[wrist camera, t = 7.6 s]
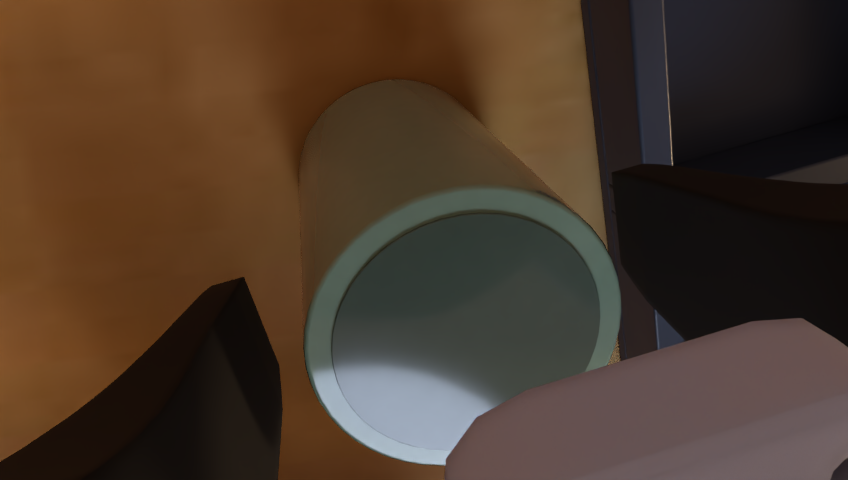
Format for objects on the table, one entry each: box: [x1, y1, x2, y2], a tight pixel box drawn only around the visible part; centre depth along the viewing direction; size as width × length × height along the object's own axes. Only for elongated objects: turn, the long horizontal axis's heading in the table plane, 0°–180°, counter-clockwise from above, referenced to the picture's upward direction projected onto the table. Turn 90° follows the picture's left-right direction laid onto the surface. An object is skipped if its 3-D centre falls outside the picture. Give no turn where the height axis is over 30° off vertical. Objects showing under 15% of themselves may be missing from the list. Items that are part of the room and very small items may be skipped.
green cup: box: [299, 79, 621, 466], centre depth 14 cm, size 5×5×8 cm
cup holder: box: [581, 0, 848, 361], centre depth 18 cm, size 15×8×3 cm, turn 13°
